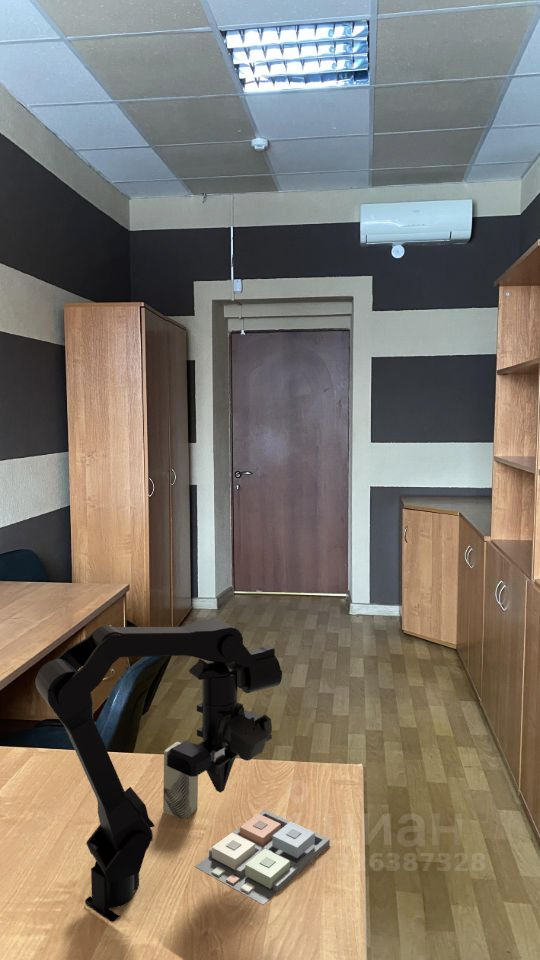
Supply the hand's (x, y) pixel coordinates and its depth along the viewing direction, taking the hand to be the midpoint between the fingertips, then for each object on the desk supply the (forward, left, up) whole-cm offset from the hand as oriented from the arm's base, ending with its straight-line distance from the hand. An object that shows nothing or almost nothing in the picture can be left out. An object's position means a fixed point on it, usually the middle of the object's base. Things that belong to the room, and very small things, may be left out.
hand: (220, 790), depth 113 cm
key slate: (+8, -9, -9) cm, 15 cm away
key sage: (+1, -9, -11) cm, 14 cm away
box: (+5, +14, -12) cm, 19 cm away
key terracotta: (+8, -3, -11) cm, 13 cm away
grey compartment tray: (+4, -6, -12) cm, 14 cm away
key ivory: (+1, -2, -10) cm, 11 cm away
